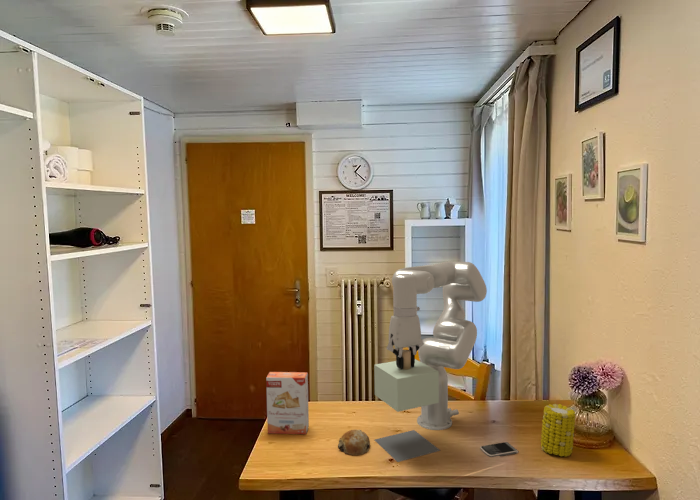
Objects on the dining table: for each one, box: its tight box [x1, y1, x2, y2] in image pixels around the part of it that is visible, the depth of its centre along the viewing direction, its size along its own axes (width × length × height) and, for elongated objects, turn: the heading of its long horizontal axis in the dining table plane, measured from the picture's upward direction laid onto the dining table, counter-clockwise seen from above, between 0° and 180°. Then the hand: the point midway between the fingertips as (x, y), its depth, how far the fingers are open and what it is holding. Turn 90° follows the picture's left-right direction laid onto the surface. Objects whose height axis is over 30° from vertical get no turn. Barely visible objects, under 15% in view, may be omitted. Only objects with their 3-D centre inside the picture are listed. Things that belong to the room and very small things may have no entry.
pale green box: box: [373, 349, 439, 413], centre depth 155 cm, size 15×15×16 cm
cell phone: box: [479, 441, 519, 458], centre depth 153 cm, size 6×11×1 cm, turn 106°
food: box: [540, 403, 576, 458], centre depth 152 cm, size 15×12×10 cm
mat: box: [374, 429, 441, 463], centre depth 157 cm, size 16×16×1 cm
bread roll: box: [337, 429, 371, 456], centre depth 156 cm, size 10×10×8 cm
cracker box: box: [265, 371, 310, 435], centre depth 169 cm, size 14×6×21 cm, turn 86°
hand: (405, 366), depth 155 cm, fingers closed on pale green box, 3 cm apart
